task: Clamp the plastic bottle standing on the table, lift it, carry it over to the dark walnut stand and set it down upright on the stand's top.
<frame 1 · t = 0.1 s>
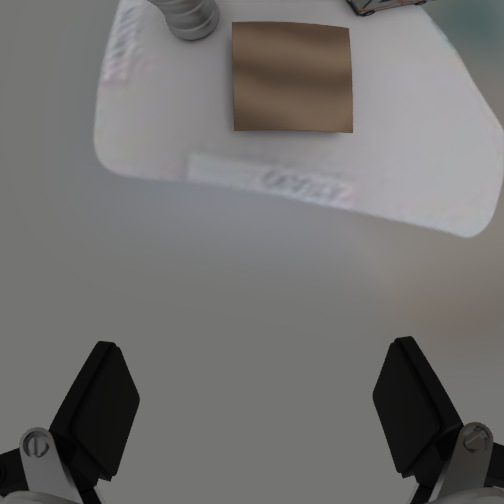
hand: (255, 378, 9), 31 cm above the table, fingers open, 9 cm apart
walnut stand: (287, 82, 32), on the table
plastic bottle: (197, 23, 29), on the table
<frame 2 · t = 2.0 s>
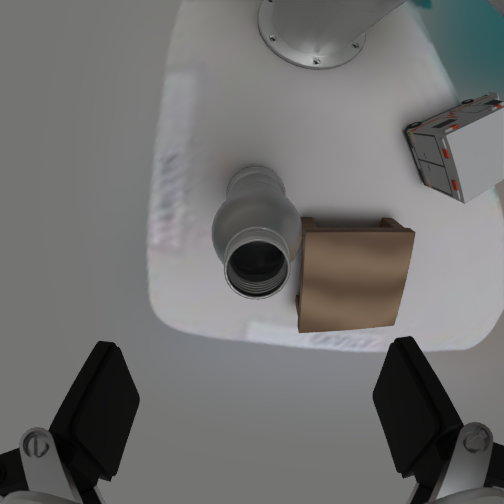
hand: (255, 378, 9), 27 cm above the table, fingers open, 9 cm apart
toy vehicle: (453, 135, 30), on the table
walnut stand: (344, 262, 38), on the table
plastic bottle: (255, 191, 34), on the table
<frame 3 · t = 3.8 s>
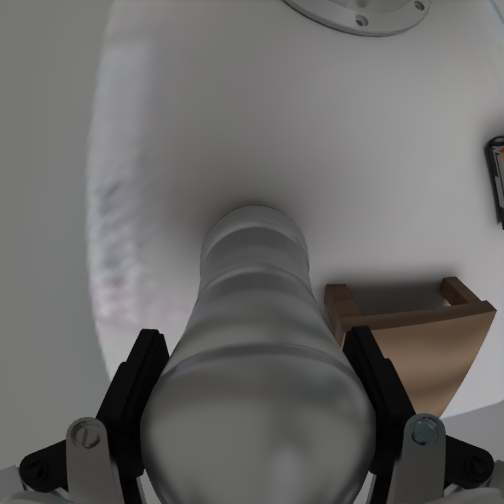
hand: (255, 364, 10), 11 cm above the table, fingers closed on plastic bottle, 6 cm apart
walnut stand: (383, 341, 24), on the table
plastic bottle: (254, 244, 20), on the table, touching gripper
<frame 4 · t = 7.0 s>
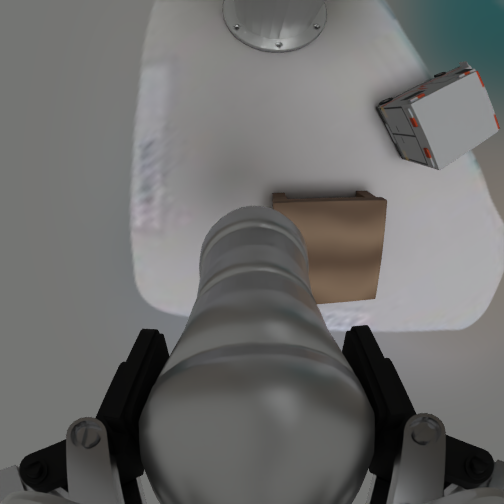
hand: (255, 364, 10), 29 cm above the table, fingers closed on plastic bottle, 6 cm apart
toy vehicle: (429, 108, 31), on the table
walnut stand: (320, 237, 38), on the table
plastic bottle: (253, 244, 20), point 17 cm above the table, touching gripper
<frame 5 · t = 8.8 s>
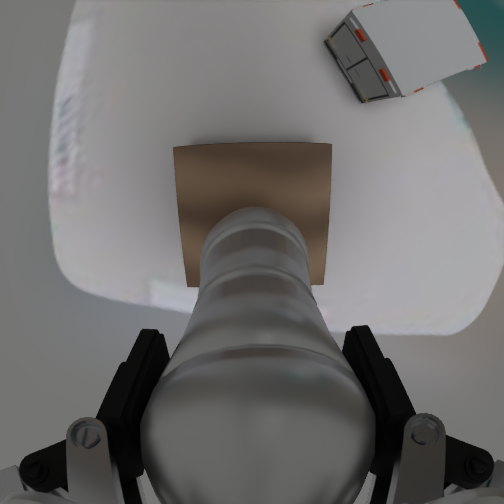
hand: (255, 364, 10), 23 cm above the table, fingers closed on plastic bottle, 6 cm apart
toy vehicle: (398, 50, 23), on the table
walnut stand: (253, 202, 30), on the table
plastic bottle: (254, 244, 20), point 11 cm above the table, touching gripper
when the fingers open (18 cm above the table, at t = 10.1 s): plastic bottle stays where it is, resting on walnut stand.
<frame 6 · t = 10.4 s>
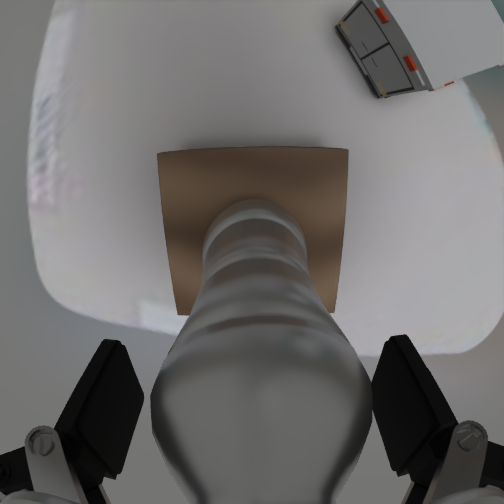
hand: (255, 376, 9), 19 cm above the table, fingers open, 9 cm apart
toy vehicle: (417, 41, 19), on the table
walnut stand: (254, 216, 26), on the table
plastic bottle: (253, 236, 21), point 6 cm above the table, touching walnut stand
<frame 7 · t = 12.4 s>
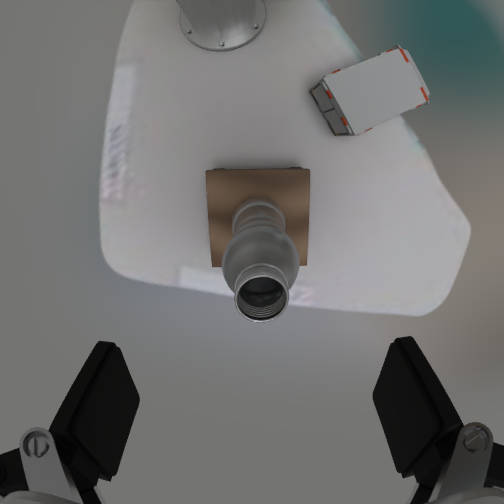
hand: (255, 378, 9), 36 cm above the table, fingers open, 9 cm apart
toy vehicle: (366, 92, 36), on the table
walnut stand: (258, 209, 43), on the table
plastic bottle: (258, 218, 38), point 6 cm above the table, touching walnut stand
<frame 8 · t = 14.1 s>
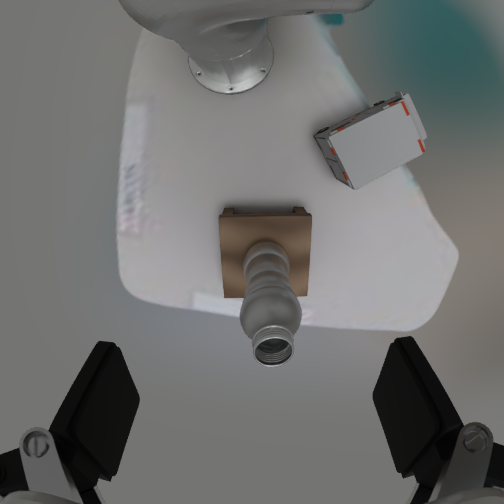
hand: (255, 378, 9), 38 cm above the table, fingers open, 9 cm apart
toy vehicle: (367, 134, 41), on the table
walnut stand: (264, 244, 48), on the table
plastic bottle: (265, 257, 43), point 6 cm above the table, touching walnut stand
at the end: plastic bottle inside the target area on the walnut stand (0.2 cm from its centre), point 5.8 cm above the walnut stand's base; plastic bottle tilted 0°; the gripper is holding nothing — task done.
